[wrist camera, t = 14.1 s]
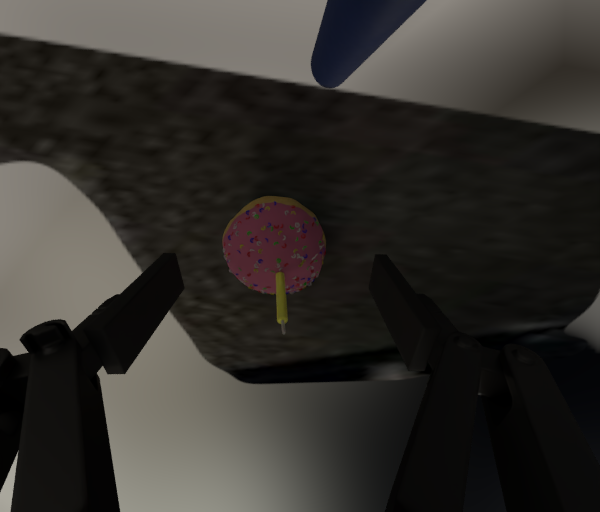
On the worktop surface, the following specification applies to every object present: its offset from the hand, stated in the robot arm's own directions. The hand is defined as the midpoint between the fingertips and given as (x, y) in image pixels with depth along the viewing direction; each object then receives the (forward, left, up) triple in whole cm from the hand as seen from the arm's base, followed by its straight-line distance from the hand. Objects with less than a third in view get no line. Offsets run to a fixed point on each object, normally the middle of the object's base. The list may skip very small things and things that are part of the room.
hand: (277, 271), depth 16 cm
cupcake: (0, 0, -9) cm, 9 cm away
